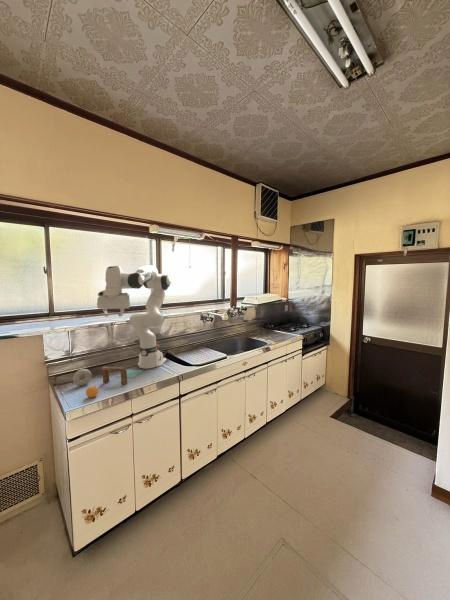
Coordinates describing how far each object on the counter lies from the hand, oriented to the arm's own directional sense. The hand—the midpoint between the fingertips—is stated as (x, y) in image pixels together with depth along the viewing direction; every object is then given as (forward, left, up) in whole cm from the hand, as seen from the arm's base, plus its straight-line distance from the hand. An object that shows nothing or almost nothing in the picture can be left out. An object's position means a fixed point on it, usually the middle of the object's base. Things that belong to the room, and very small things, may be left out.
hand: (113, 316), depth 143 cm
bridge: (-1, -4, -41) cm, 42 cm away
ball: (+17, -3, -38) cm, 42 cm away
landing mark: (-16, -4, -41) cm, 45 cm away
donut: (+5, -22, -42) cm, 47 cm away
